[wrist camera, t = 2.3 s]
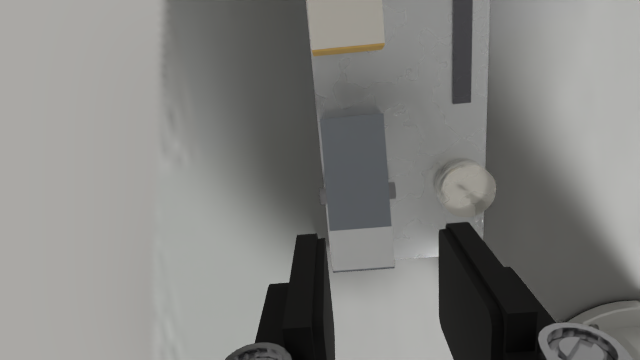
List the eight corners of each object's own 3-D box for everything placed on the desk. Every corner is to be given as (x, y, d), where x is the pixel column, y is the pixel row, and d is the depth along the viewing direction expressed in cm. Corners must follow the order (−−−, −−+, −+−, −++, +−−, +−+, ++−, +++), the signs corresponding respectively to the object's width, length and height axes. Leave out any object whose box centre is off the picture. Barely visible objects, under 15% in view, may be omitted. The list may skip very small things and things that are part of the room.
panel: (483, -172, 22) (511, -211, 19) (474, 239, 30) (493, 265, 26) (292, -149, 23) (286, -183, 19) (331, 250, 30) (331, 277, 27)
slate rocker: (388, 113, 25) (390, 112, 24) (398, 261, 26) (401, 267, 25) (313, 120, 25) (312, 119, 24) (326, 266, 26) (326, 273, 25)
